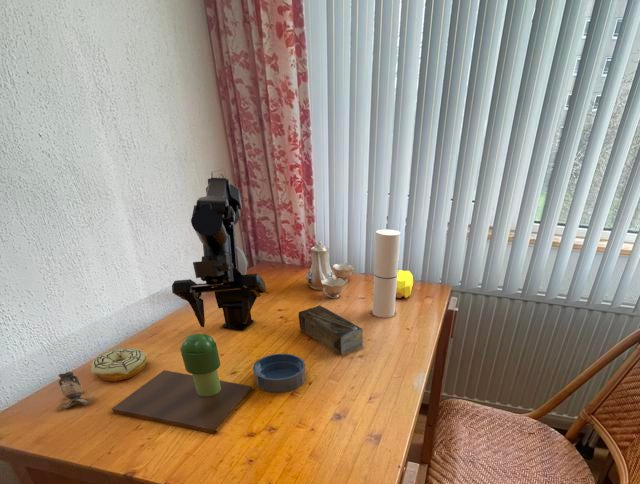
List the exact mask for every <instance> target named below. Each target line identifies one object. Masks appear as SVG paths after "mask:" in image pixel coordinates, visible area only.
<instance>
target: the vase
mask: <svg viewBox="0 0 640 484" xmlns="http://www.w3.org/2000/svg"><path fill="white" fill-rule="evenodd" d="M78 373H79V375H80V374H81V372H78ZM58 377H59V378H60V379H59V380H58V385H59V388H60V389H59V390H60V392H61V394H62V396H64V398H66V399H68V400H69V403H68V404H62V405H60V406H59V407H58V410H59V411H61V410H62V409H65V408H66V409H67V408H69V409H70V408H71V407H72V405H75V404H77V403H81V404H82V405H84V406H86V405H88V404H89V403H90V400H88V398H86V399H84V398H82V397H81V396H82V394H83V390H84V389H83V386H82V384H81V383H80V381H79V378H78V376H76V375H74V372H73V371H67V372H65V373H59V374H58Z"/></svg>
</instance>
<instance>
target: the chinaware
mask: <svg viewBox="0 0 640 484" xmlns="http://www.w3.org/2000/svg"><path fill="white" fill-rule="evenodd" d="M310 250H311V254H312V259H311V260H312V261H311V266H310V268H309V270H308V272H307V274H306V276H305V279H306V281H307V282H308V284H309V287H310V289H312V290H316V291H322V296H323V297H324V298H325V297H328V298H330V299H338V298H339V296H340V295H341V294H342V292H343V291H344V289H345V285H347V282H348V281H349V278H351V277H352V275H353V272H354V270H355V264H348V263H347V262H340V263H333V264H332V268H331V266H330V261H329V251H330V248H329V247H328V246H326V245H324V244H323V242H322V241H321V240H318V242H317V244H315V245H314V246H312V247H310ZM332 269H333V271H332ZM325 293H326V295H325Z"/></svg>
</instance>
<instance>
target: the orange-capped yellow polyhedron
mask: <svg viewBox="0 0 640 484" xmlns="http://www.w3.org/2000/svg"><path fill="white" fill-rule="evenodd" d="M413 285H414V277H413V274H412V273H411V271H410V270H403V269H398V273H397V286H396V298H397V299H402V298H403V297H404V298H405V299H408V297H410V296H411V294H412V291H413V290H412V289H413Z"/></svg>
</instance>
